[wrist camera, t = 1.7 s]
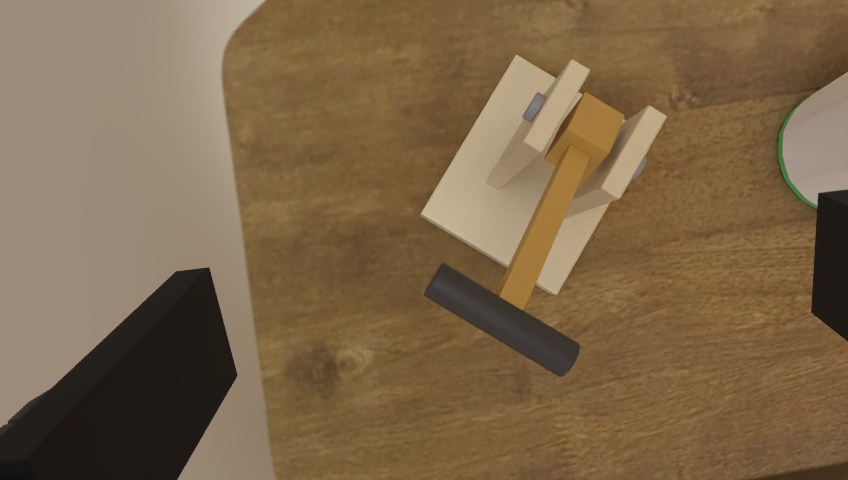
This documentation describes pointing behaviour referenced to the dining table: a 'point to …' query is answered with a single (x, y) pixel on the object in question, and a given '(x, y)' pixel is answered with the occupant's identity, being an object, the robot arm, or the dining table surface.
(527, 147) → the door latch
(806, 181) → the cup
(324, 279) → the dining table surface
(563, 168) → the latch lever
